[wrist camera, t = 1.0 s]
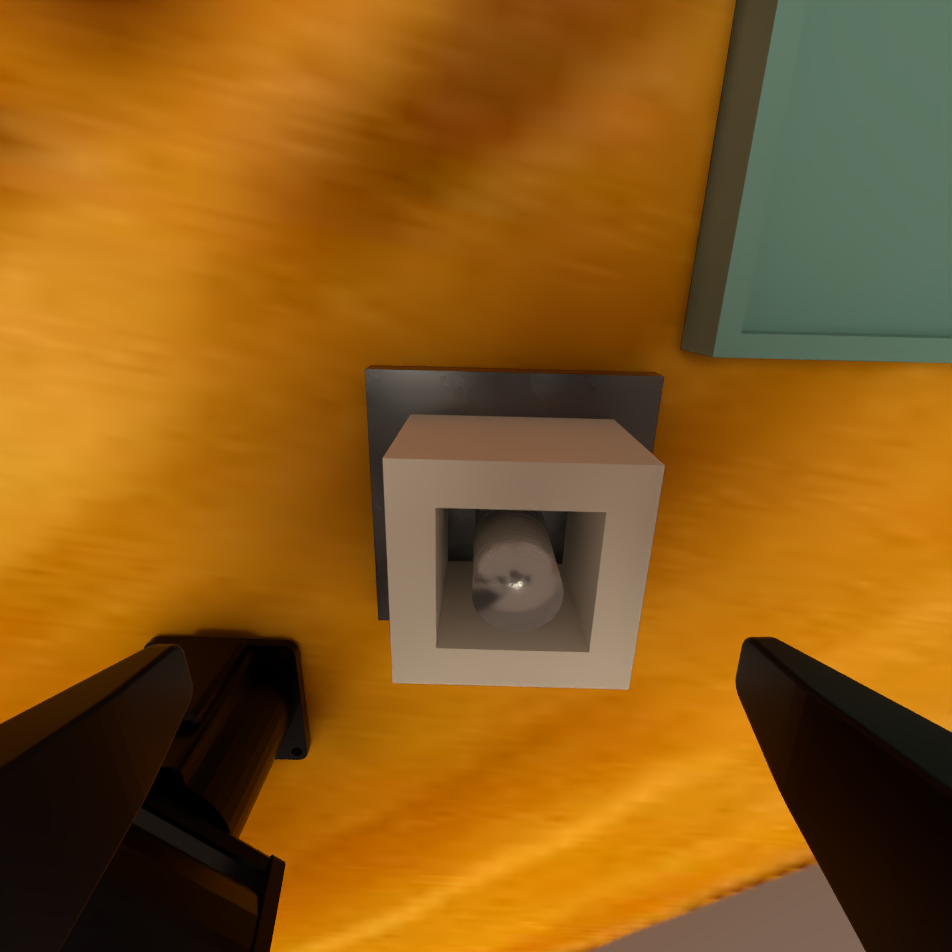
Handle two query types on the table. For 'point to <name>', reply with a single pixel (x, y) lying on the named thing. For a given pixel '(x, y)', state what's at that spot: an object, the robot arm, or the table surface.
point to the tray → (830, 186)
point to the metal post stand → (492, 530)
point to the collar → (518, 488)
